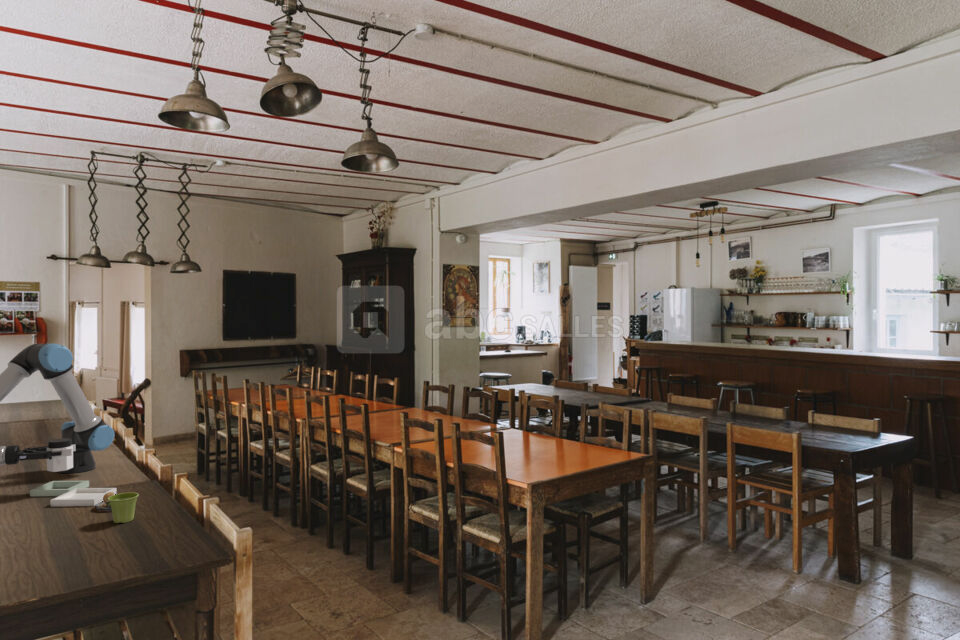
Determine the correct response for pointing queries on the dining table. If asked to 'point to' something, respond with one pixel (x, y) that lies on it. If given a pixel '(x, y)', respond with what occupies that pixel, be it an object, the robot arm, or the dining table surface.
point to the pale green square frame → (48, 491)
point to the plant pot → (123, 506)
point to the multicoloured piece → (104, 504)
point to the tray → (82, 497)
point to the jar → (60, 462)
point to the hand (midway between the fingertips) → (73, 449)
